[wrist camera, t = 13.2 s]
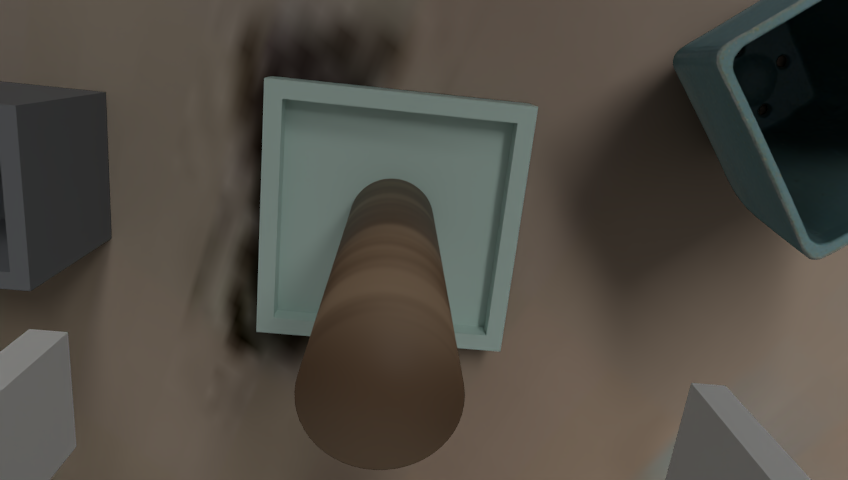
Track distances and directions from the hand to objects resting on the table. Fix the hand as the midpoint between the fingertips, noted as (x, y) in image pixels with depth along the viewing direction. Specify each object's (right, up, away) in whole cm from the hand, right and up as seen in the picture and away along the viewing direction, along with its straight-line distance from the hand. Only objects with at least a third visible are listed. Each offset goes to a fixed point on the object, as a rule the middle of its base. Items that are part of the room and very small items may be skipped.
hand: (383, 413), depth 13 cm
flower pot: (+16, +11, +16) cm, 25 cm away
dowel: (-1, +5, +17) cm, 17 cm away
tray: (-1, +5, +17) cm, 18 cm away
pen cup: (-18, +7, +16) cm, 25 cm away
